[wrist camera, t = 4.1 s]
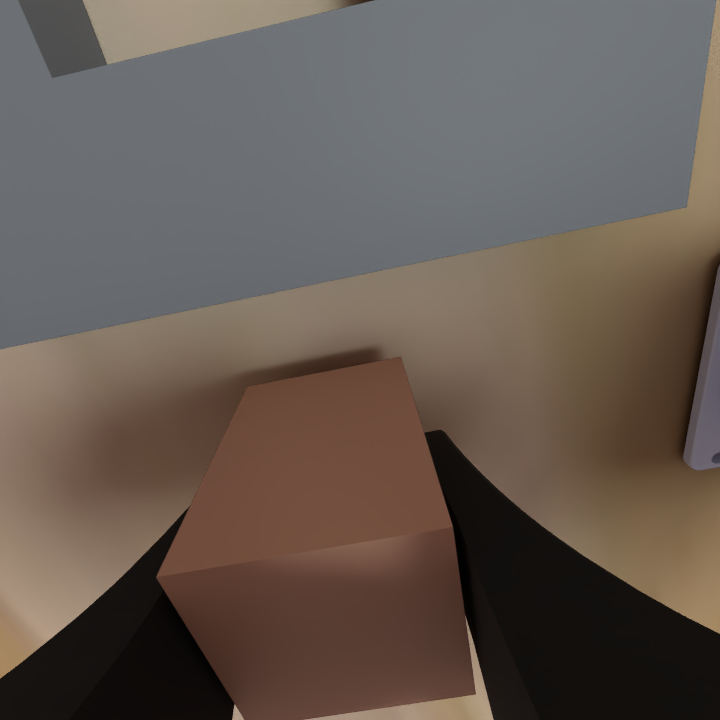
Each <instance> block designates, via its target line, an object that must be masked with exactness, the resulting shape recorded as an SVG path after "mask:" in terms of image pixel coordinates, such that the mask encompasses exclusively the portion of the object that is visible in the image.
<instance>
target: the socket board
mask: <svg viewBox="0 0 720 720" xmlns="http://www.w3.org/2000/svg"><path fill="white" fill-rule="evenodd" d="M715 5H716V0H374V1H369V2H365V3H361V4H357V5H353V6H349V7H345V8H341V9H336V10H332V11H328V12H324V13H320V14H316V15H312V16H307V17H303V18H299V19H295V20H291V21H287V22H283V23H278V24H274V25H270V26H266V27H262V28H258V29H254V30H250V31H245V32H241V33H237V34H233V35H229V36H225V37H221V38H216V39H212V40H208V41H204V42H200V43H196V44H192V45H187V46H183V47H179V48H175V49H171V50H167V51H163V52H159V53H154V54H150V55H146V56H142V57H138V58H134V59H130V60H125V61H121V62H117V63H113V64H109V65H107V63H106V61H105V58H104V56H103V53H102V50H101V48H100V45H99V43H98V40H97V37H96V35H95V32H94V30H93V27H92V24H91V22H90V19H89V17H88V14H87V11H86V9H85V6H84V4H83V1H82V0H0V349H4V348H8V347H13V346H18V345H23V344H28V343H33V342H37V341H42V340H47V339H52V338H57V337H62V336H66V335H71V334H76V333H81V332H86V331H91V330H95V329H100V328H105V327H110V326H115V325H120V324H124V323H129V322H134V321H139V320H144V319H149V318H153V317H158V316H163V315H168V314H173V313H178V312H182V311H187V310H192V309H197V308H202V307H207V306H211V305H216V304H221V303H226V302H231V301H236V300H241V299H245V298H250V297H255V296H260V295H265V294H270V293H274V292H279V291H284V290H289V289H294V288H299V287H303V286H308V285H313V284H318V283H323V282H328V281H332V280H337V279H342V278H347V277H352V276H357V275H361V274H366V273H371V272H376V271H381V270H386V269H390V268H395V267H400V266H405V265H410V264H415V263H419V262H424V261H429V260H434V259H439V258H444V257H448V256H453V255H458V254H463V253H468V252H473V251H477V250H482V249H487V248H492V247H497V246H502V245H506V244H511V243H516V242H521V241H526V240H531V239H535V238H540V237H545V236H550V235H555V234H560V233H564V232H569V231H574V230H579V229H584V228H589V227H593V226H598V225H603V224H608V223H613V222H618V221H622V220H627V219H632V218H637V217H642V216H647V215H651V214H656V213H661V212H666V211H671V210H676V209H680V208H685V207H687V202H688V195H689V188H690V181H691V174H692V167H693V160H694V153H695V146H696V139H697V132H698V125H699V118H700V111H701V104H702V96H703V89H704V82H705V75H706V68H707V61H708V54H709V47H710V40H711V33H712V26H713V19H714V12H715Z"/></svg>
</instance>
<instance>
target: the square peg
mask: <svg viewBox="0 0 720 720" xmlns="http://www.w3.org/2000/svg"><path fill="white" fill-rule="evenodd" d="M156 578H157V580H158V581H159V583H160V585H161V586H162V588H163V589H164V591H165V593H166V594H167V596H168V597H169V599H170V601H171V602H172V604H173V605H174V607H175V609H176V610H177V612H178V613H179V615H180V617H181V618H182V620H183V622H184V623H185V625H186V626H187V628H188V630H189V631H190V633H191V634H192V636H193V638H194V639H195V641H196V642H197V644H198V646H199V647H200V649H201V650H202V652H203V654H204V655H205V657H206V658H207V660H208V662H209V663H210V665H211V667H212V668H213V670H214V671H215V673H216V675H217V676H218V678H219V679H220V681H221V683H222V684H223V686H224V687H225V689H226V691H227V692H228V694H229V695H230V697H231V699H232V700H233V702H234V704H235V705H236V707H237V708H238V710H239V712H240V713H241V715H242V716H243V718H244V720H304V719H310V718H317V717H324V716H331V715H338V714H345V713H352V712H358V711H365V710H372V709H379V708H386V707H393V706H399V705H406V704H413V703H420V702H427V701H434V700H441V699H447V698H454V697H461V696H468V695H475V694H476V692H475V684H474V677H473V670H472V662H471V655H470V648H469V641H468V633H467V626H466V619H465V611H464V604H463V597H462V589H461V582H460V575H459V568H458V560H457V553H456V546H455V538H454V531H453V526H452V522H451V519H450V516H449V513H448V509H447V506H446V503H445V500H444V496H443V493H442V490H441V487H440V483H439V480H438V477H437V473H436V470H435V467H434V464H433V460H432V457H431V454H430V451H429V447H428V444H427V441H426V438H425V434H424V431H423V428H422V425H421V421H420V418H419V415H418V412H417V408H416V405H415V402H414V399H413V395H412V392H411V389H410V385H409V382H408V379H407V376H406V372H405V369H404V366H403V363H402V359H401V357H398V358H392V359H387V360H382V361H377V362H372V363H367V364H361V365H356V366H351V367H346V368H341V369H336V370H331V371H325V372H320V373H315V374H310V375H305V376H300V377H294V378H289V379H284V380H279V381H274V382H269V383H264V384H258V385H253V386H248V387H247V388H246V390H245V392H244V394H243V397H242V399H241V401H240V403H239V405H238V407H237V409H236V411H235V413H234V415H233V417H232V420H231V422H230V424H229V426H228V428H227V430H226V432H225V434H224V436H223V438H222V440H221V443H220V445H219V447H218V449H217V451H216V453H215V455H214V457H213V459H212V461H211V463H210V466H209V468H208V470H207V472H206V474H205V476H204V478H203V480H202V482H201V484H200V486H199V489H198V491H197V493H196V495H195V497H194V499H193V501H192V503H191V505H190V507H189V509H188V512H187V514H186V516H185V518H184V520H183V522H182V524H181V526H180V528H179V530H178V532H177V535H176V537H175V539H174V541H173V543H172V545H171V547H170V549H169V551H168V553H167V555H166V558H165V560H164V562H163V564H162V566H161V568H160V570H159V572H158V574H157V576H156Z"/></svg>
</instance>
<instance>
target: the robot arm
mask: <svg viewBox="0 0 720 720" xmlns="http://www.w3.org/2000/svg"><path fill="white" fill-rule="evenodd" d="M424 434H425V438H426V441H427V444H428V447H429V451H430V454H431V457H432V460H433V464H434V467H435V470H436V473H437V477H438V480H439V483H440V487H441V490H442V493H443V496H444V500H445V503H446V506H447V509H448V513H449V516H450V519H451V522H452V526H453V531H454V538H455V546H456V553H457V560H458V568H459V575H460V582H461V589H462V597H463V604H464V611H465V616H466V619H467V622H468V625H469V628H470V632H471V635H472V638H473V641H474V645H475V649H476V653H477V657H478V661H479V665H480V668H481V672H482V676H483V680H484V684H485V688H486V691H487V695H488V699H489V703H490V707H491V711H492V715H493V719H494V720H720V634H719V633H717V632H715V631H713V630H711V629H709V628H707V627H705V626H703V625H701V624H699V623H697V622H695V621H693V620H691V619H689V618H687V617H685V616H683V615H681V614H680V613H678V612H676V611H674V610H672V609H670V608H669V607H667V606H665V605H663V604H662V603H660V602H658V601H656V600H655V599H653V598H651V597H649V596H647V595H646V594H644V593H642V592H640V591H639V590H637V589H635V588H634V587H632V586H631V585H629V584H627V583H626V582H624V581H623V580H621V579H619V578H618V577H616V576H615V575H613V574H611V573H610V572H608V571H607V570H605V569H603V568H602V567H600V566H599V565H597V564H596V563H594V562H592V561H591V560H589V559H588V558H586V557H584V556H583V555H581V554H580V553H579V552H577V551H576V550H574V549H573V548H571V547H570V546H569V545H567V544H566V543H564V542H563V541H561V540H560V539H559V538H557V537H556V536H555V535H553V534H552V533H551V532H549V531H548V530H547V529H545V528H544V527H542V526H541V525H540V524H539V523H537V522H536V521H535V520H533V519H532V518H531V517H530V516H528V515H527V514H526V513H525V512H524V511H522V510H521V509H520V508H519V507H518V506H516V505H515V504H514V503H513V502H512V501H511V500H509V499H508V498H507V497H506V496H505V495H504V494H503V493H501V492H500V491H499V490H498V489H497V488H496V487H495V486H494V485H493V484H492V483H491V482H490V481H489V480H488V479H487V478H486V477H485V476H484V475H483V474H482V473H481V472H480V471H478V470H477V469H476V468H475V466H474V465H473V464H472V463H471V462H470V461H469V460H468V459H467V458H466V457H465V456H464V455H463V454H462V453H461V451H460V450H459V449H458V448H457V447H456V446H455V444H454V443H453V442H452V441H451V439H450V438H449V437H448V436H447V434H446V433H445V432H443V431H442V430H437V431H432V432H426V433H424ZM683 460H684V462H685V463H686V464H687V465H688V466H690V467H691V468H692V469H695V470H705V469H711V468H717V467H720V265H719V268H718V271H717V276H716V282H715V287H714V293H713V298H712V303H711V309H710V314H709V320H708V325H707V330H706V336H705V341H704V347H703V352H702V358H701V363H700V368H699V374H698V379H697V385H696V390H695V395H694V401H693V406H692V412H691V417H690V422H689V428H688V433H687V439H686V444H685V450H684V455H683ZM189 507H190V506H189ZM189 507H188V509H189ZM188 509H187V510H186V511H185V512H184V513H183V514H182V515H181V516H180V517H179V518H178V519H177V521H176V522H175V523H174V524H173V525H172V526H171V527H170V528H169V529H168V530H167V532H166V533H165V534H164V535H163V536H162V537H161V538H160V539H159V540H158V541H157V542H156V543H155V544H154V545H153V546H152V547H151V548H150V549H149V550H148V551H147V552H146V553H145V554H144V555H143V556H142V557H141V558H140V559H139V560H138V561H137V562H136V563H135V564H134V565H133V566H132V567H131V568H130V569H129V570H128V571H127V572H126V573H125V574H124V575H123V576H122V577H121V578H120V579H119V580H118V581H117V582H116V583H115V584H114V585H113V586H112V587H111V588H109V589H108V590H107V591H106V592H105V593H104V594H103V595H102V596H101V597H99V598H98V599H97V600H96V601H95V602H94V603H93V604H92V605H91V606H89V607H88V608H87V609H86V610H85V611H84V612H83V613H82V614H80V615H79V616H78V617H77V618H76V619H75V620H73V621H72V622H71V623H70V624H68V625H67V626H66V627H65V628H64V629H62V630H61V631H60V632H59V633H57V634H56V635H55V636H54V637H52V638H51V639H50V640H49V641H48V642H46V643H45V644H44V645H43V646H41V647H40V648H39V649H38V650H36V651H35V652H34V653H33V654H32V655H30V656H29V657H28V658H27V659H25V660H24V661H23V662H22V663H20V664H19V665H18V666H16V667H15V668H14V669H13V670H11V671H10V672H9V673H7V674H6V675H5V676H3V677H2V678H1V679H0V720H232V717H233V710H234V702H233V700H232V699H231V697H230V695H229V694H228V692H227V691H226V689H225V687H224V686H223V684H222V683H221V681H220V679H219V678H218V676H217V675H216V673H215V671H214V670H213V668H212V667H211V665H210V663H209V662H208V660H207V658H206V657H205V655H204V654H203V652H202V650H201V649H200V647H199V646H198V644H197V642H196V641H195V639H194V638H193V636H192V634H191V633H190V631H189V630H188V628H187V626H186V625H185V623H184V622H183V620H182V618H181V617H180V615H179V613H178V612H177V610H176V609H175V607H174V605H173V604H172V602H171V601H170V599H169V597H168V596H167V594H166V593H165V591H164V589H163V588H162V586H161V585H160V583H159V581H158V580H157V578H156V576H157V574H158V572H159V570H160V568H161V566H162V564H163V562H164V560H165V558H166V555H167V553H168V551H169V549H170V547H171V545H172V543H173V541H174V539H175V537H176V535H177V532H178V530H179V528H180V526H181V524H182V522H183V520H184V518H185V516H186V514H187V512H188Z"/></svg>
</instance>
